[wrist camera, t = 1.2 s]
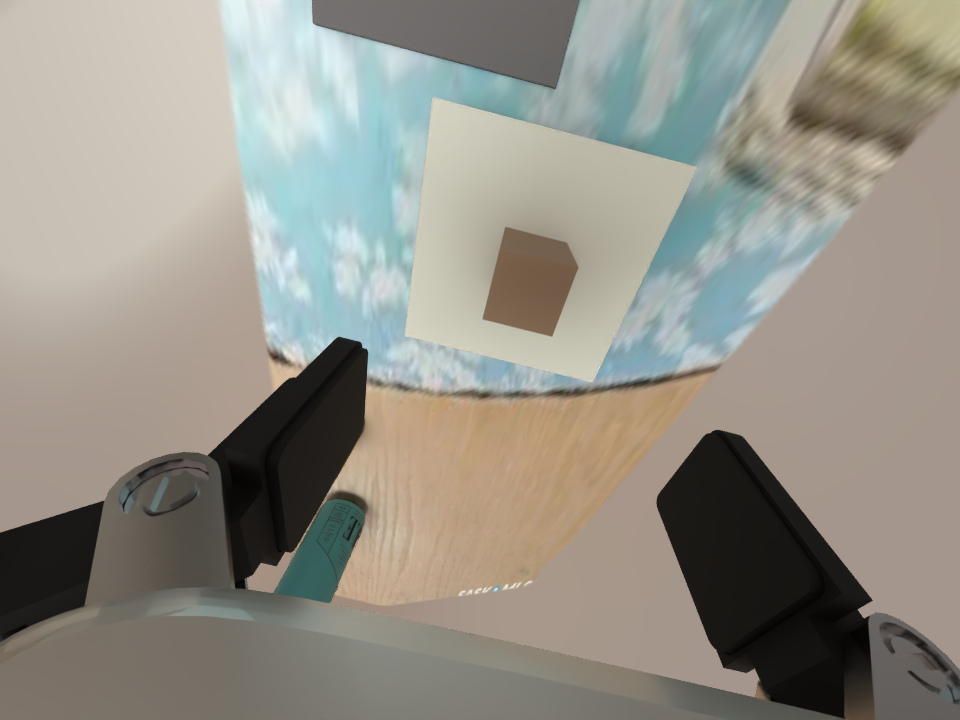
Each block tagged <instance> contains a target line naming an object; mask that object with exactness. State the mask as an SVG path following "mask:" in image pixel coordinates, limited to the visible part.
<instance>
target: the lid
mask: <svg viewBox="0 0 960 720" xmlns="http://www.w3.org/2000/svg"><path fill="white" fill-rule="evenodd" d="M697 168H698V167H696V166H692V165H688V164H685V163H681V162H677V161H673V160H669V159H666V158H662V157H658V156H654V155H650V154H647V153H643V152H639V151H635V150H631V149H628V148H624V147H620V146H616V145H613V144H609V143H605V142H601V141H597V140H594V139H590V138H586V137H582V136H578V135H575V134H571V133H567V132H563V131H559V130H556V129H552V128H548V127H544V126H540V125H537V124H533V123H529V122H525V121H522V120H518V119H514V118H510V117H506V116H503V115H499V114H495V113H491V112H487V111H484V110H480V109H476V108H472V107H468V106H465V105H461V104H457V103H453V102H449V101H446V100H442V99H438V98H434V97H433V98H432V106H431V115H430V124H429V132H428V141H427V149H426V158H425V166H424V175H423V184H422V192H421V201H420V209H419V218H418V226H417V235H416V243H415V252H414V261H413V269H412V278H411V286H410V295H409V303H408V312H407V320H406V329H405V336H407V337H411V338H415V339H419V340H423V341H427V342H431V343H436V344H440V345H444V346H448V347H452V348H456V349H460V350H464V351H468V352H472V353H476V354H480V355H484V356H488V357H492V358H496V359H500V360H504V361H508V362H512V363H516V364H520V365H524V366H528V367H532V368H536V369H540V370H544V371H548V372H552V373H556V374H560V375H564V376H568V377H572V378H576V379H581V380H585V381H589V382H593V380H594V378H595V376H596V374H597V372H598V370H599V368H600V366H601V364H602V362H603V360H604V358H605V356H606V354H607V352H608V350H609V348H610V346H611V344H612V341H613V339H614V337H615V335H616V333H617V331H618V329H619V327H620V325H621V323H622V321H623V319H624V317H625V315H626V313H627V311H628V309H629V307H630V305H631V303H632V301H633V299H634V297H635V295H636V293H637V291H638V288H639V286H640V284H641V282H642V280H643V278H644V276H645V274H646V272H647V270H648V268H649V266H650V264H651V262H652V260H653V258H654V256H655V254H656V252H657V250H658V248H659V246H660V244H661V242H662V240H663V238H664V235H665V233H666V231H667V229H668V227H669V225H670V223H671V221H672V219H673V217H674V215H675V213H676V211H677V209H678V207H679V205H680V203H681V201H682V199H683V197H684V195H685V193H686V191H687V189H688V187H689V184H690V182H691V180H692V178H693V176H694V174H695V172H696V170H697Z"/></svg>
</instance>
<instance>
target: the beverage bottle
mask: <svg viewBox="0 0 960 720" xmlns="http://www.w3.org/2000/svg"><path fill="white" fill-rule="evenodd" d="M318 511H319V512H318ZM318 511H317V513H316V517H315V519H313V520H314V521H313V520H312V521H313V523H312V524H311V526H310V528H309V530H308V529H307V531H306V535H305V537H304V539H303V540H302V542H301V544H300V543H299V544H300V545H299V548H298V549H297V551H296V553H295V555H294V557H293V558H292V560H291V562H290V564H289V566H288V568H287V570H286V571H285V573H284V575H283V577H282V578H281V580H280V582H279V584H278V586H277V587H276V589H275V591H274V593H275V594H282V595H289V596H295V597H300V598H305V599H310V600H315V601H320V602H325V603H330V602H331V600H332V598H333V595H334V593H335V592H336V589H337V587H338V584H339V581H340V579H341V577H342V574H343V572H344V569H345V567H346V565H347V562H348V560H349V558H350V556H351V553H352V551H353V548H354V546H355V544H356V541H357V540H359V539H358V538H359V537H360V535H361V532H362V531H361V530H362V527H363V525H364V522H365V515H364V513H363V511H362V510H361V509H360V508H359V507H358V506H357V505H355V504H354V503H352V502H349V501H346V500H342V499H332V500H329V501H327V502H326V503H325V504H324V505H323V506H322V507H321V508H320V510H319V509H318ZM359 534H360V535H359ZM357 542H358V541H357ZM355 547H356V546H355ZM353 552H354V551H353Z"/></svg>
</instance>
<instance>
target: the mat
mask: <svg viewBox="0 0 960 720" xmlns="http://www.w3.org/2000/svg"><path fill="white" fill-rule="evenodd" d="M578 3H579V0H312V14H313V23H314V24H315V25H318V26H322V27H326V28H330V29H333V30H337V31H341V32H345V33H348V34H352V35H356V36H360V37H363V38H367V39H371V40H375V41H378V42H382V43H386V44H390V45H393V46H397V47H401V48H405V49H408V50H412V51H416V52H420V53H423V54H427V55H431V56H435V57H439V58H442V59H446V60H450V61H454V62H457V63H461V64H465V65H469V66H472V67H476V68H480V69H484V70H487V71H491V72H495V73H499V74H502V75H506V76H510V77H514V78H517V79H521V80H525V81H529V82H532V83H536V84H540V85H544V86H547V87H551V88H556V85H557V81H558V77H559V74H560V70H561V66H562V62H563V59H564V55H565V51H566V47H567V44H568V40H569V36H570V32H571V29H572V25H573V21H574V17H575V14H576V10H577V6H578Z"/></svg>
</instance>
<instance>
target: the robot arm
mask: <svg viewBox="0 0 960 720" xmlns="http://www.w3.org/2000/svg"><path fill="white" fill-rule="evenodd" d="M367 363H368V350H367V349H364V348H362V344H361V342H358V341H354V340H350V339H346V338H342V337H338V338H336V339H335V340H334V341H333V342H332V343H331V344H330V345H329V346H328V347H327V348H326V349H325V350H324V351H323V352H322V353H321V354H320V355H319V356H318V357H317V358H316V359H315V360H314V361H313V362H312V363H311V364H309V365H308V366H307V367H306V368H305V369H304V370H303V371H302V372H301V373H300V374H299V375H298V376H297V377H296V378H295V377H293V378H289V379H288V380H287V381H285V382H284V383H283V384H282V385H281V386H280V387H279V388H278V389H277V390H276V391H275V392H274V393H273V394H272V395H271V396H270V397H268V399H266V400H265V401H264V402H263V403H262V404H261V405H260V406H259V407H258V408H257V409H256V410H255V411H254V412H253V413H252V414H251V415H250V416H249V417H248V418H246V419H245V420H244V421H243V422H242V423H241V424H240V425H239V426H238V427H237V428H236V429H235V430H234V431H233V432H232V433H231V434H230V435H229V436H228V437H227V438H225V439H224V440H223V441H222V442H221V443H220V444H219V445H218V446H217V447H216V448H215V449H214V450H213V451H212V452H211V453H210V454H209V455H208V456H207V455H204V454H200V453H191V452H182V453H174V454H168V455H164V456H161V457H158V458H155V459H151V460H149V461H148V462H145V463H143V464H141V465H139V466H137V467H135V468H133V469H132V470H131V471H130V472H128V473H126V474H125V475H124V476H122V477H121V478H120V479H119V480H118V481H117V482H116V483H115V485H114V486H113V487H112V488H111V489H110V490H109V492H108V495H107V497H106V499H105V501H101V502H98V503H95V504H92V505H88V506H85V507H82V508H79V509H75V510H73V511H69V512H66V513H63V514H59V515H56V516H53V517H50V518H47V519H43V520H40V521H37V522H33V523H30V524H27V525H24V526H20V527H17V528H14V529H11V530H7V531H4V532H1V533H0V720H960V670H959V668H958V667H957V666H956V665H955V664H954V663H953V662H952V661H951V659H949V657H948V656H947V655H946V654H945V653H943V652H942V651H941V650H940V649H939V648H938V647H937V646H936V645H935V644H934V643H932V642H931V641H930V640H929V639H928V638H926V637H925V636H924V635H922V634H921V633H919V632H918V631H917V630H916V629H914V628H913V627H911V626H909V625H908V624H906V623H904V622H903V621H901V620H900V619H897V618H894V617H892V616H890V615H888V614H883V613H874V614H872V615H870V616H868V617H866V618H863V617H862V615H861V614H860V613H859V611H858V610H857V609H859V608H861V607H862V606H864V605H866V604H867V603H869V602H871V601H873V600H872V599H871V597H870V596H869V595H868V594H867V592H866V591H865V590H864V589H863V587H862V586H861V585H860V584H859V582H858V581H857V580H856V579H855V577H854V576H853V575H852V574H851V572H850V571H849V570H848V568H847V567H846V566H845V565H844V563H843V562H842V561H841V560H840V558H839V557H838V556H837V555H836V553H835V552H834V551H833V550H832V548H831V547H830V546H829V545H828V543H827V542H826V541H825V540H824V538H823V537H822V536H821V534H820V533H819V532H818V531H817V529H816V528H815V527H814V526H813V524H812V523H811V522H810V521H809V519H808V518H807V517H806V515H805V514H804V513H803V512H802V511H801V509H800V508H799V507H798V506H797V504H796V503H795V502H794V500H793V499H792V498H791V497H790V495H789V494H788V493H787V492H786V490H785V489H784V488H783V486H782V485H781V484H780V483H779V481H778V480H777V479H776V478H775V476H774V475H773V474H772V473H771V472H770V470H769V469H768V468H767V466H766V465H765V464H764V462H763V461H762V460H761V459H760V458H759V456H758V455H757V454H756V452H755V451H754V450H753V449H752V447H751V446H750V445H749V444H748V442H747V441H746V440H745V439H744V438H743V437H742V436H740V435H737V434H733V433H729V432H725V431H721V430H715V431H712V432H711V433H708V434H706V435H705V436H704V437H703V438H702V439H701V440H700V442H699V443H698V444H697V446H696V447H695V448H694V449H693V451H692V452H691V453H690V454H689V456H688V457H687V458H686V460H685V461H684V462H683V463H682V465H681V466H680V467H679V469H678V470H677V471H676V472H675V474H674V475H673V477H672V478H671V479H670V480H669V482H668V483H667V484H666V485H665V487H664V488H663V489H662V490H661V492H660V493H659V495H658V497H657V508H658V511H659V513H660V516H661V519H662V521H663V523H664V526H665V529H666V531H667V534H668V536H669V539H670V542H671V544H672V547H673V549H674V552H675V555H676V557H677V560H678V562H679V565H680V568H681V570H682V573H683V575H684V578H685V580H686V583H687V586H688V588H689V591H690V593H691V596H692V598H693V601H694V604H695V606H696V609H697V611H698V614H699V616H700V619H701V622H702V624H703V627H704V629H705V632H706V635H707V637H708V639H709V641H710V643H711V645H712V646H713V647H714V648H715V649H716V650H717V653H718V655H719V658H720V660H721V663H722V665H723V668H727V669H732V670H736V671H740V672H744V673H747V672H749V671H751V670H753V669H754V668H755V670H756V672H757V674H758V676H759V680H758V684H757V689H756V695H755V697H750V696H746V695H742V694H737V693H733V692H728V691H724V690H720V689H716V688H711V687H707V686H703V685H698V684H694V683H690V682H685V681H681V680H676V679H672V678H668V677H663V676H659V675H654V674H650V673H645V672H641V671H636V670H632V669H628V668H623V667H619V666H615V665H610V664H606V663H601V662H597V661H592V660H588V659H583V658H579V657H574V656H570V655H565V654H561V653H557V652H552V651H548V650H543V649H539V648H535V647H530V646H526V645H521V644H517V643H512V642H507V641H503V640H498V639H493V638H489V637H485V636H480V635H475V634H471V633H467V632H462V631H457V630H453V629H448V628H444V627H439V626H435V625H430V624H425V623H421V622H416V621H412V620H407V619H403V618H398V617H394V616H389V615H385V614H379V613H375V612H370V611H365V610H359V609H354V608H349V607H345V606H340V605H334V604H330V603H325V602H320V601H315V600H310V599H305V598H300V597H295V596H289V595H282V594H275V593H267V592H261V591H254V590H248V584H247V577H249V576H251V575H253V574H254V572H255V570H256V569H257V568H258V566H259V565H260V563H265V564H269V565H273V566H277V565H278V563H279V561H280V560H281V558H282V556H283V555H284V553H285V552H290V553H291V552H293V551H294V549H295V548H296V547H297V545H298V543H299V542H300V540H301V538H302V537H303V535H304V533H305V531H306V530H307V528H308V526H309V524H310V523H311V521H312V519H313V517H314V516H315V514H316V512H317V510H318V509H319V507H320V505H321V504H322V502H323V500H324V498H325V497H326V495H327V493H328V491H329V490H330V488H331V486H332V484H333V483H334V481H335V479H336V477H337V476H338V474H339V472H340V471H341V469H342V467H343V465H344V464H345V462H346V460H347V458H348V457H349V455H350V453H351V451H352V450H353V448H354V446H355V444H356V443H357V441H358V439H359V438H360V436H361V433H362V430H363V426H364V415H365V397H366V380H367Z"/></svg>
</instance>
